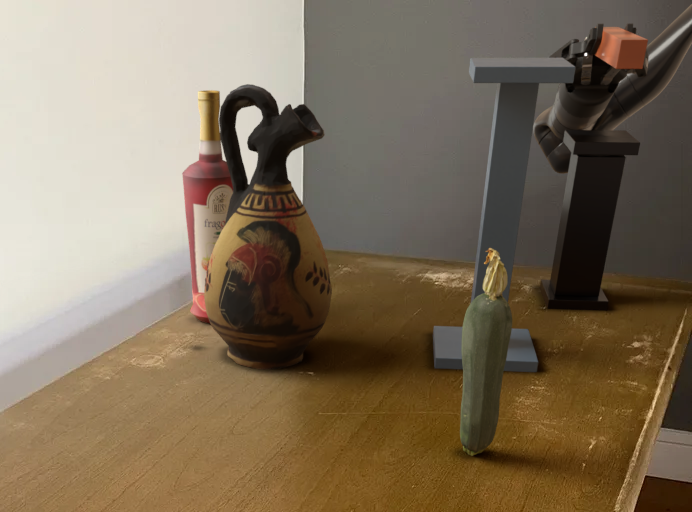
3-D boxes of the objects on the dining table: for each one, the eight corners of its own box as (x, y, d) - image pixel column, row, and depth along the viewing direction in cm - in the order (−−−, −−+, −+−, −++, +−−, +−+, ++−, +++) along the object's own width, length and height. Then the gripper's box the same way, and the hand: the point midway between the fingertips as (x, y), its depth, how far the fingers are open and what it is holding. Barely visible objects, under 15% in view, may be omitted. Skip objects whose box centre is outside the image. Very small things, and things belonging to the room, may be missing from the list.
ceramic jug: (348, 346, 123) (361, 82, 106) (297, 387, 111) (304, 98, 95) (231, 327, 129) (226, 76, 112) (172, 364, 118) (157, 91, 101)
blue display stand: (432, 336, 125) (460, 56, 107) (526, 340, 124) (571, 56, 106) (434, 369, 115) (465, 67, 97) (536, 373, 114) (587, 67, 96)
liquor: (201, 330, 128) (192, 96, 113) (181, 315, 134) (169, 90, 118) (250, 322, 131) (248, 92, 115) (228, 308, 136) (224, 86, 121)
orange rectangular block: (590, 52, 129) (595, 27, 127) (613, 52, 128) (618, 26, 127) (615, 69, 113) (621, 39, 111) (642, 69, 112) (648, 39, 110)
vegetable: (496, 468, 93) (527, 257, 82) (451, 468, 93) (477, 258, 82) (487, 448, 97) (516, 244, 86) (444, 449, 97) (467, 245, 86)
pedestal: (539, 289, 142) (564, 129, 130) (595, 291, 141) (626, 130, 129) (547, 310, 134) (575, 141, 122) (606, 312, 133) (640, 142, 121)
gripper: (633, 119, 138) (669, 61, 121) (533, 118, 140) (555, 61, 123) (638, 65, 137) (675, -1, 120) (537, 65, 139) (560, 0, 122)
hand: (614, 31), depth 122 cm, fingers closed on orange rectangular block, 3 cm apart
